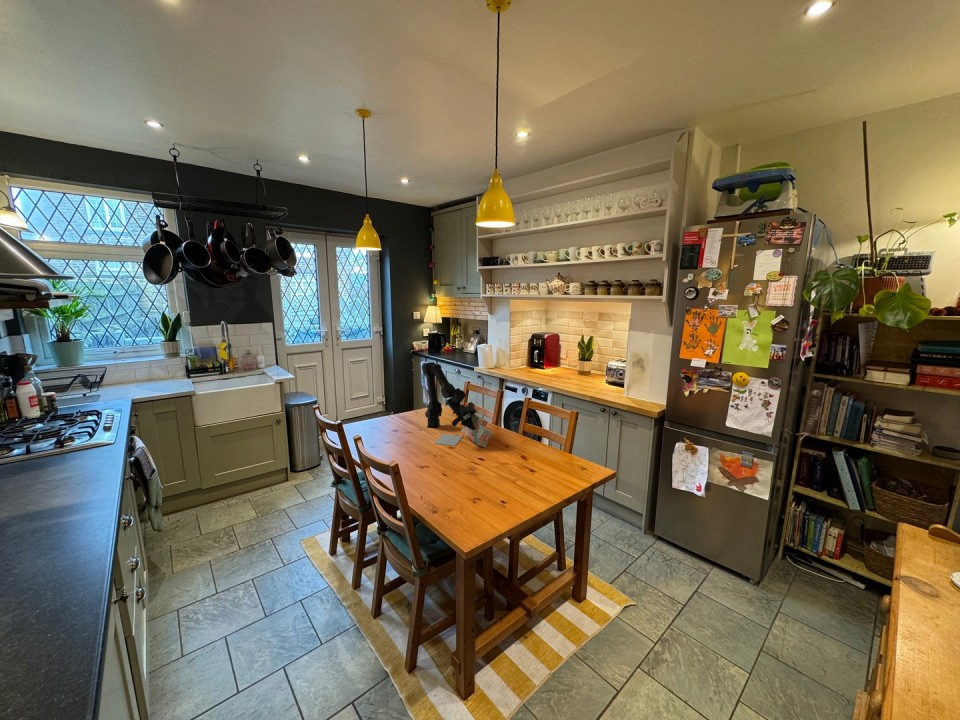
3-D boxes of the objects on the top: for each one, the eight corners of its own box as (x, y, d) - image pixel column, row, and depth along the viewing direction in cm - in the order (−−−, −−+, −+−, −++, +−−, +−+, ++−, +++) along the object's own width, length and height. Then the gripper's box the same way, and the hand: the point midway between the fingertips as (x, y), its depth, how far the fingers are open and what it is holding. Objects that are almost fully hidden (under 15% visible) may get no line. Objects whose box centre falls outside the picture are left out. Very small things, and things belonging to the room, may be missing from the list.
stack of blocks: (485, 448, 205) (495, 427, 206) (476, 444, 202) (486, 423, 203) (469, 434, 224) (478, 415, 225) (460, 430, 221) (470, 411, 222)
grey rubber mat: (434, 443, 210) (434, 443, 210) (443, 434, 223) (443, 433, 223) (455, 446, 207) (455, 445, 207) (462, 436, 221) (462, 435, 221)
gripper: (456, 403, 201) (474, 426, 198) (474, 394, 217) (491, 416, 214) (443, 415, 206) (461, 438, 203) (462, 405, 222) (478, 427, 219)
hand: (474, 429), depth 210 cm, fingers closed
